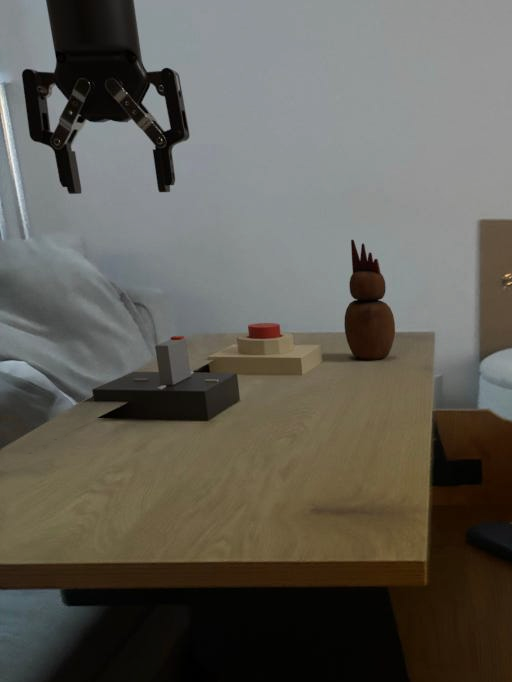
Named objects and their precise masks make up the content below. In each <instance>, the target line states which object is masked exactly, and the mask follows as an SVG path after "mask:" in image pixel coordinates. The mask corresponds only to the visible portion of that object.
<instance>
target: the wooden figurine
mask: <svg viewBox="0 0 512 682" xmlns="http://www.w3.org/2000/svg"><path fill="white" fill-rule="evenodd" d="M350 248H351V249H350V251H351V266H352V267H351V268H352V274H351V275H350V278H349V282H348V283H349V293H350V296H351V297H352V298H353V299H354V300H353V301H351V302H349V303H348V306H347V307H346V309H345V313H344V324H343V325H344V333H345V339H346V342H347V344H348V347H349V350H350V351H351V354H352V355H353V356H354V357H355V358H358V359H359V360H362V361H363V360H364V361H378V360H382V359H385V358H387V357H388V356H389V355H390V352H391V350H392V347H393V344H394V340H395V334H396V323H395V317H394V313H393V311H392V308H391V306H389V305H388V303H386V301H385V302H384V301H383V300H382V299H383V298H384V297H385V295H386V290H387V289H386V288H387V286H386V281H385V278H384V275H383V274H382V273H381V268H380V264H379V260H378V258H374V259H373V253H372V252H368V255H367V251H366V246H365V243H361V248H360V256H359V252H358V250H357V249H358V248H357V246H356V243H355V240H354V239H351V240H350Z"/></svg>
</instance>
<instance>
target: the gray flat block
mask: <svg viewBox="0 0 512 682" xmlns="http://www.w3.org/2000/svg"><path fill="white" fill-rule="evenodd" d="M154 348H155V355H156V363H157V369H158V372H159V377H160V384H161V385H174V384H176V383H178V382H180V381H182V380H184V379H186V378H188V377H190V376H191V372H192V371H191V364H190V358H189V350H188V342H187V338H186V337H185V336H184V335H173V336H170V337H169V339H168V340H165V341H163V342H161V343H158V344H155V345H154Z"/></svg>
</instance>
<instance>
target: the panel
mask: <svg viewBox="0 0 512 682" xmlns="http://www.w3.org/2000/svg"><path fill="white" fill-rule="evenodd" d="M190 372H191V376H190V377H188V378H186V379H184V380H182V381H180V382H178V383H176V384H174V385H161V384H160V377H159V371H132V372H130V373H127V374H125V375H122V376H120V377H118V378H115V379H113V380H111V381H109V382H106V383H103V384H101V385H99V386H97V387H95V388H92V397H93V402H109V403H110V402H117V403H120V402H122V403H123V404H122V405H120V406H118V407H116V408H114V409H112V410H110V411H108V412H106V413H104V414H101V415H99V416H98V417H97V419H106V420H107V419H111V420H113V419H114V420H158V421H159V420H160V421H161V420H163V421H164V420H165V421H167V420H168V421H210V420H211V419H213V418H215V417H216V416H217V415H219V414H221V413H222V412H224V411H225V410H227V409H228V408H230V407H232V406H233V405H235V404H236V403H238V402H239V401H241V398H240V388H239V379H238V378H239V377H238V374H237V373H210V372H194V371H190Z"/></svg>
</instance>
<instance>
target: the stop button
mask: <svg viewBox="0 0 512 682" xmlns="http://www.w3.org/2000/svg"><path fill="white" fill-rule="evenodd" d="M247 330H248V334H249V338H252V339H270V338H278V337H281V333H282V332H281V325H280V323H277V322H276V323H274V322H259V323H257V322H256V323H251V324H248V325H247ZM280 332H281V333H280Z"/></svg>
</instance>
